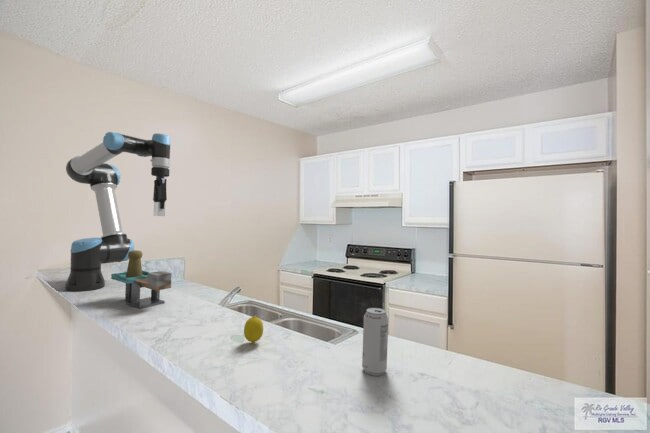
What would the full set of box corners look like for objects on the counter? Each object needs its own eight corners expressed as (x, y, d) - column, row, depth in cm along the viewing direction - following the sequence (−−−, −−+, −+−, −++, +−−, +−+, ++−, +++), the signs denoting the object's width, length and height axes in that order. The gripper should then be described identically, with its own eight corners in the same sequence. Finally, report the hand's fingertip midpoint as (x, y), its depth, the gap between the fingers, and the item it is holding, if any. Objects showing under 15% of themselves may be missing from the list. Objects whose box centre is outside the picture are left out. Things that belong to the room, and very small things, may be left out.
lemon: (246, 348, 90) (247, 320, 90) (241, 341, 95) (242, 314, 95) (265, 345, 92) (266, 317, 92) (259, 338, 97) (260, 312, 97)
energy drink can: (367, 363, 83) (369, 305, 83) (389, 369, 80) (391, 309, 80) (358, 372, 78) (360, 311, 78) (381, 379, 75) (383, 315, 75)
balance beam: (140, 278, 142) (141, 263, 142) (177, 289, 128) (178, 271, 128) (111, 283, 132) (111, 266, 132) (148, 295, 118) (148, 276, 118)
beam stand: (142, 296, 139) (142, 276, 139) (164, 303, 131) (165, 281, 131) (117, 301, 131) (118, 279, 131) (139, 309, 122) (140, 285, 122)
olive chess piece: (145, 275, 137) (146, 250, 136) (136, 278, 131) (137, 252, 130) (132, 274, 137) (133, 249, 137) (122, 277, 131) (123, 251, 131)
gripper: (147, 168, 156) (145, 215, 156) (156, 164, 139) (155, 216, 139) (164, 170, 160) (162, 215, 160) (175, 166, 143) (173, 216, 144)
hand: (159, 215), depth 150 cm, fingers open, 9 cm apart
